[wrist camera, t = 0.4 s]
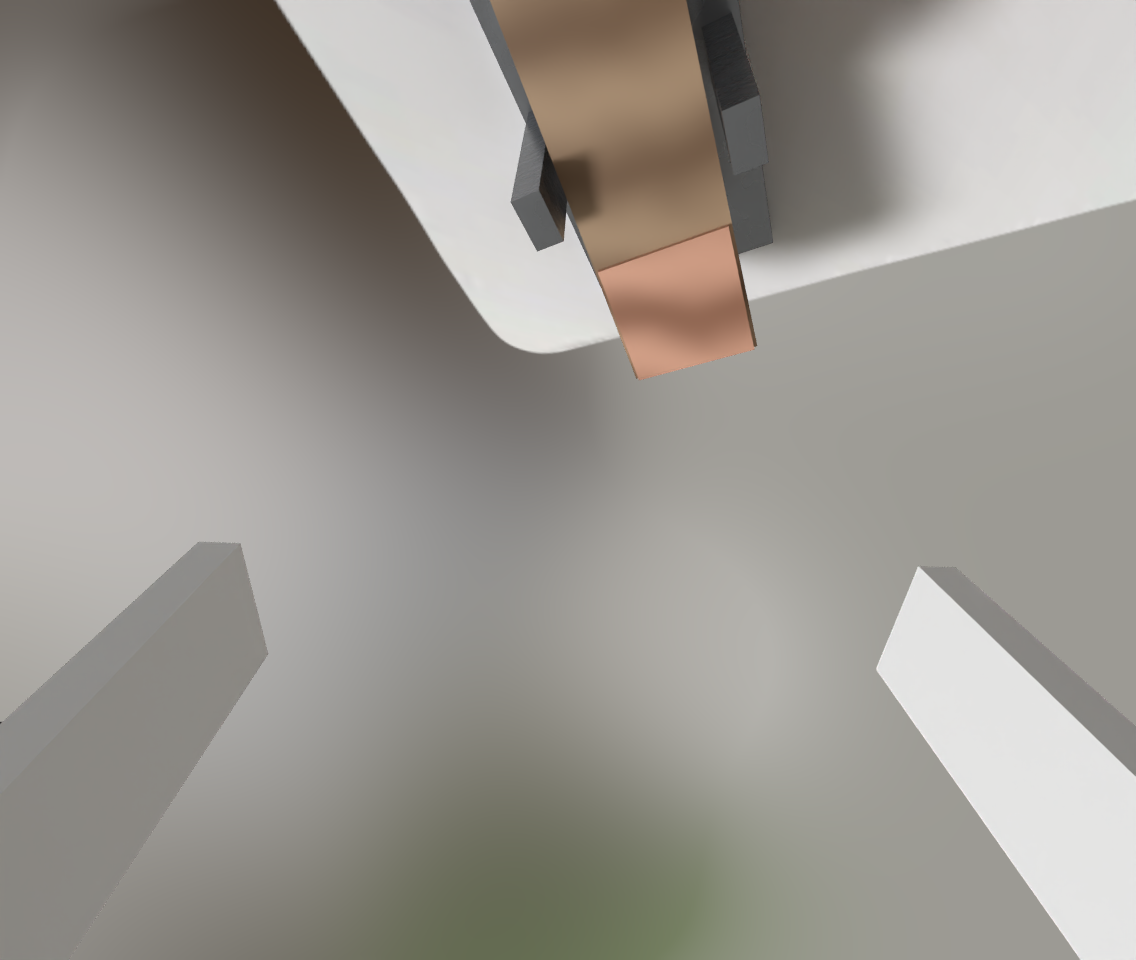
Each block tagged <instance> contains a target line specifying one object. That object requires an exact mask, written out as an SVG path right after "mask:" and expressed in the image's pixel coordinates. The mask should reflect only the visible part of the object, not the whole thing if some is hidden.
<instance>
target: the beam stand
mask: <svg viewBox="0 0 1136 960" xmlns="http://www.w3.org/2000/svg"><path fill="white" fill-rule="evenodd" d="M470 2H471V4H472V7H473V9H474V11H475V13H476V15H477V18H478V20H479V22H480V24H481V26H482V28H483V31H484V33H485V35H486V37H487V39H488V42H489V44H490V46H491V48H492V50H493V53H494V55H495V57H496V59H497V61H498V63H499V66H500V68H501V70H502V72H503V74H504V77H505V79H506V81H507V83H508V85H509V87H510V90H511V92H512V94H513V96H514V98H515V101H516V103H517V105H518V107H519V109H520V111H521V114H522V116H523V118H524V120H525V122H526V127H525V132H524V137H523V142H522V147H521V152H520V157H519V162H518V168H517V173H516V178H515V183H514V188H513V193H512V198H511V203H512V205H513V207H514V209H515V211H516V213H517V215H518V217H519V218H520V220H521V222H522V224H523V226H524V228H525V230H526V231H527V233H528V235H529V237H530V239H531V241H532V243H533V244H534V246H535V248H536V250H537V251H540V250H542V249H545V248H547V247H550V246H553V245H555V244H558V243H560V242H563V241H564V231H565V220H566V212H567V214H568V216H569V218H570V221H571V223H572V225H573V227H574V229H575V232H576V234H577V236H578V238H579V240H580V243H581V245H582V247H583V249H584V251H585V253H586V256H587V258H588V260H589V262H590V264H591V267H592V269H593V271H594V273H595V270H594V268H593V265H592V263H591V260H590V257H589V255H588V252H587V250H586V247H585V244H584V242H583V239H582V237H581V234H580V232H579V229H578V226H577V224H576V221H575V219H574V216H573V214H572V211H571V208H570V206H569V203H568V201H567V198H566V195H565V193H564V190H563V188H562V185H561V183H560V180H559V177H558V175H557V172H556V170H555V167H554V164H553V162H552V159H551V157H550V154H549V152H548V149H547V146H546V144H545V141H544V139H543V136H542V134H541V131H540V128H539V126H538V123H537V121H536V118H535V115H534V113H533V110H532V108H531V105H530V103H529V100H528V97H527V95H526V92H525V90H524V87H523V85H522V82H521V79H520V77H519V74H518V72H517V69H516V66H515V64H514V61H513V59H512V56H511V54H510V51H509V48H508V46H507V43H506V41H505V38H504V36H503V33H502V30H501V28H500V25H499V23H498V20H497V17H496V15H495V12H494V10H493V7H492V5H491V2H490V0H470ZM686 2H687V7H688V11H689V16H690V21H691V26H692V31H693V36H694V41H695V46H696V50H697V55H698V60H699V65H700V70H701V75H702V80H703V85H704V89H705V94H706V99H707V104H708V109H709V114H710V119H711V124H712V128H713V133H714V138H715V143H716V148H717V153H718V158H719V163H720V167H721V172H722V177H723V182H724V187H725V192H726V197H727V202H728V206H729V211H730V216H731V221H732V226H733V231H734V236H735V241H736V245H737V250H738V254H740V253H743V252H746V251H749V250H752V249H755V248H758V247H761V246H764V245H767V244H770V243H773V239H772V232H771V225H770V218H769V211H768V204H767V197H766V190H765V183H764V176H763V169H762V165H763V164H766V163H768V162H769V161H768V154H767V147H766V139H765V132H764V124H763V117H762V109H761V102H760V95H759V92H758V89H757V86H756V83H755V80H754V77H753V74H752V71H751V68H750V65H749V62H748V59H747V56H746V51H745V44H744V37H743V30H742V23H741V16H740V9H739V2H738V0H686ZM595 275H596V273H595ZM596 277H597V275H596ZM597 280H598V278H597ZM598 282H599V281H598ZM599 284H600V283H599Z"/></svg>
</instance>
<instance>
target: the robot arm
mask: <svg viewBox="0 0 1136 960" xmlns="http://www.w3.org/2000/svg"><path fill="white" fill-rule="evenodd" d="M267 655H268V651H267V647H266V643H265V640H264V636H263V631H262V627H261V623H260V619H259V615H258V612H257V607H256V603H255V599H254V596H253V591H252V588H251V584H250V580H249V576H248V572H247V568H246V564H245V560H244V556H243V552H242V548H241V544H240V543H216V542H198V543H197V544H196V545H194V546H193V547H192V548H191V549H190V550H189V551H188V552H187V553H186V554H185V555H184V556H183V557H181V558H180V559H179V560H178V561H177V562H176V563H175V564H174V565H173V566H172V567H171V568H169V569H168V570H167V571H166V572H165V573H164V574H163V575H162V576H161V577H160V578H159V579H157V580H156V581H155V582H154V583H153V584H152V585H151V586H150V587H149V588H148V589H147V590H145V591H144V592H143V593H142V594H141V595H140V596H139V597H138V598H137V599H136V600H135V601H133V602H132V603H131V604H130V605H129V606H128V607H127V608H126V609H125V610H124V611H123V612H122V613H120V614H119V615H118V616H117V617H116V618H115V619H114V620H113V621H112V622H111V623H110V624H108V625H107V626H106V627H105V628H104V629H103V630H102V631H101V632H100V633H99V634H98V635H96V636H95V637H94V638H93V639H92V640H91V641H90V642H89V643H88V644H87V645H86V646H85V647H83V648H82V649H81V650H80V651H79V652H78V653H77V654H76V655H75V656H74V657H73V658H72V659H70V661H68V662H67V663H66V664H65V665H64V666H63V667H62V668H61V669H60V670H58V671H57V672H56V673H55V674H54V675H53V676H52V677H51V678H50V679H49V680H48V681H47V682H45V683H44V684H43V685H42V686H41V687H40V688H39V689H38V690H37V691H36V692H35V693H33V694H32V695H31V696H30V697H29V698H28V699H27V700H26V701H25V702H24V703H22V704H21V705H20V706H19V707H18V708H17V709H16V710H15V711H14V712H13V713H12V714H11V715H9V716H8V717H7V718H6V719H5V720H4V721H3V722H0V960H69V959H70V957H71V955H72V954H73V952H74V951H75V949H76V948H77V946H78V945H79V943H80V942H81V940H82V939H83V937H84V936H85V934H86V933H87V931H88V930H89V928H90V926H91V925H92V923H93V922H94V920H95V919H96V917H97V916H98V914H99V913H100V911H101V910H102V908H103V907H104V905H105V903H106V902H107V900H108V899H109V897H110V896H111V894H112V893H113V891H114V890H115V888H116V887H117V885H118V884H119V882H120V880H121V879H122V877H123V876H124V874H125V873H126V871H127V870H128V868H129V867H130V865H131V864H132V862H133V860H134V859H135V857H136V856H137V854H138V853H139V851H140V850H141V848H142V847H143V845H144V843H145V842H146V841H147V839H148V837H149V836H150V834H151V833H152V831H153V830H154V828H155V827H156V825H157V824H158V822H159V821H160V819H161V818H162V816H163V814H164V813H165V811H166V810H167V808H168V807H169V805H170V804H171V802H172V801H173V799H174V798H175V796H176V795H177V793H178V792H179V790H180V788H181V787H182V785H183V784H184V782H185V781H186V779H187V778H188V776H189V775H190V773H191V772H192V770H193V769H194V767H195V765H196V764H197V762H198V761H199V759H200V758H201V756H202V755H203V753H204V752H205V750H206V749H207V747H208V746H209V744H210V742H211V741H212V739H213V738H214V736H215V735H216V733H217V732H218V730H219V728H220V727H221V725H222V724H223V723H224V721H225V719H226V718H227V716H228V715H229V713H230V712H231V710H232V709H233V707H234V705H235V704H236V703H237V701H238V699H239V698H240V696H241V695H242V693H243V692H244V690H245V689H246V687H247V686H248V684H249V683H250V681H251V680H252V678H253V677H254V675H255V673H256V672H257V670H258V669H259V667H260V666H261V664H262V663H263V661H264V660H265V658H266V657H267ZM876 670H877V671H878V673H879V674H880V676H881V677H882V678H883V680H884V681H885V683H886V684H887V686H888V687H889V688H890V690H891V691H892V693H893V694H894V696H895V697H896V699H897V700H898V701H899V703H900V704H901V705H902V707H903V708H904V710H905V711H906V713H907V714H908V715H909V717H910V718H911V720H912V721H913V723H914V724H915V725H916V727H917V728H918V730H919V731H920V733H921V734H922V735H923V737H924V738H925V740H926V741H927V742H928V744H929V745H930V747H931V748H932V750H933V751H934V752H935V754H936V755H937V756H938V758H939V759H940V761H941V762H942V764H943V765H944V767H945V768H946V769H947V771H948V772H949V774H950V775H951V777H952V778H953V779H954V781H955V782H956V784H957V785H958V786H959V788H960V789H961V791H962V792H963V794H964V795H965V796H966V798H967V799H968V801H969V802H970V803H971V805H972V806H973V808H974V809H975V810H976V812H977V813H978V815H979V816H980V818H981V819H982V820H983V822H984V823H985V825H986V826H987V828H988V829H989V830H990V832H991V833H992V835H993V836H994V837H995V839H996V840H997V842H998V843H999V845H1000V846H1001V847H1002V849H1003V850H1004V852H1005V853H1006V855H1007V856H1008V857H1009V858H1010V860H1011V862H1012V863H1013V864H1014V866H1015V867H1016V869H1017V870H1018V872H1019V873H1020V874H1021V876H1022V877H1023V879H1024V880H1025V881H1026V883H1027V884H1028V886H1029V887H1030V889H1031V890H1032V891H1033V893H1034V894H1035V896H1036V897H1037V899H1038V900H1039V901H1040V903H1041V904H1042V905H1043V907H1044V908H1045V910H1046V911H1047V913H1048V914H1049V915H1050V917H1051V918H1052V920H1053V921H1054V923H1055V924H1056V925H1057V927H1058V928H1059V930H1060V931H1061V933H1062V934H1063V935H1064V937H1065V938H1066V940H1067V941H1068V942H1069V944H1070V945H1071V947H1072V948H1073V950H1074V951H1075V952H1076V954H1077V955H1078V957H1079V958H1080V959H1081V960H1136V726H1135V725H1134V724H1133V723H1132V722H1130V721H1129V720H1128V719H1127V718H1126V717H1125V716H1124V715H1123V714H1121V713H1120V712H1119V711H1118V710H1117V709H1116V708H1114V706H1112V705H1111V704H1110V703H1109V702H1108V701H1107V700H1106V699H1104V698H1103V697H1102V696H1101V695H1100V694H1099V693H1098V692H1096V691H1095V690H1094V689H1093V688H1092V687H1091V686H1090V685H1089V684H1087V683H1086V682H1085V681H1084V680H1083V679H1082V678H1081V677H1079V676H1078V675H1077V674H1076V673H1075V672H1074V671H1073V670H1071V669H1070V668H1069V667H1068V666H1067V665H1066V664H1065V663H1064V662H1062V661H1061V660H1060V659H1059V658H1058V657H1057V656H1056V655H1055V654H1053V653H1052V652H1051V651H1050V650H1049V649H1048V648H1047V647H1045V646H1044V645H1043V644H1042V643H1041V642H1040V641H1039V640H1038V639H1036V638H1035V637H1034V636H1033V635H1032V634H1031V633H1030V632H1028V631H1027V630H1026V629H1025V628H1024V627H1023V626H1022V625H1021V624H1019V623H1018V622H1017V621H1016V620H1015V619H1014V618H1013V617H1011V616H1010V615H1009V614H1008V613H1007V612H1006V611H1005V610H1003V609H1002V608H1001V607H1000V606H999V605H998V604H997V603H995V602H994V601H993V600H992V599H991V598H990V597H989V596H987V595H986V594H985V593H984V592H983V591H982V590H981V589H980V588H978V587H977V586H976V585H975V584H974V583H973V582H971V580H969V579H968V578H967V577H966V576H965V575H964V574H962V572H960V571H959V570H958V569H957V568H955V567H927V566H918V568H917V571H916V573H915V576H914V578H913V581H912V583H911V585H910V588H909V590H908V593H907V595H906V598H905V600H904V602H903V605H902V607H901V610H900V612H899V615H898V617H897V619H896V622H895V624H894V627H893V629H892V631H891V634H890V636H889V639H888V641H887V644H886V646H885V649H884V651H883V653H882V656H881V658H880V661H879V663H878V665H877V668H876Z"/></svg>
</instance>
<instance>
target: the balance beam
mask: <svg viewBox="0 0 1136 960" xmlns="http://www.w3.org/2000/svg"><path fill="white" fill-rule="evenodd" d="M490 2H491V5H492V7H493V10H494V12H495V15H496V17H497V20H498V23H499V25H500V28H501V30H502V33H503V36H504V38H505V41H506V43H507V46H508V48H509V51H510V54H511V56H512V59H513V61H514V64H515V66H516V69H517V72H518V74H519V77H520V79H521V82H522V85H523V87H524V90H525V92H526V95H527V97H528V100H529V103H530V105H531V108H532V110H533V113H534V115H535V118H536V121H537V123H538V126H539V128H540V131H541V134H542V136H543V139H544V141H545V144H546V146H547V149H548V152H549V154H550V157H551V159H552V162H553V164H554V167H555V170H556V172H557V175H558V177H559V180H560V183H561V185H562V188H563V190H564V193H565V195H566V198H567V201H568V203H569V206H570V208H571V211H572V214H573V216H574V219H575V221H576V224H577V226H578V229H579V232H580V234H581V237H582V239H583V242H584V244H585V247H586V250H587V252H588V255H589V257H590V260H591V263H592V265H593V268H594V270H595V273H596V275H597V278H598V281H599V283H600V286H601V288H602V291H603V293H604V296H605V299H606V301H607V304H608V306H609V309H610V312H611V314H612V317H613V319H614V322H615V324H616V327H617V330H618V332H619V335H620V337H621V340H622V342H623V345H624V347H625V350H626V353H627V355H628V358H629V360H630V363H631V365H632V368H633V371H634V373H635V376H636V378H638V379H639V380H642V379H646V378H649V377H653V376H657V375H661V374H664V373H668V372H672V371H675V370H679V369H683V368H687V367H691V366H694V365H698V364H702V363H705V362H709V361H713V360H716V359H721V358H724V357H728V356H732V355H736V354H739V353H743V352H747V351H751V350H754V347H756V346H757V343H756V338H755V333H754V329H753V323H752V319H751V314H750V309H749V304H748V299H747V294H746V289H745V284H744V280H743V275H742V270H741V265H740V260H739V255H738V250H737V245H736V241H735V236H734V231H733V226H732V221H731V216H730V211H729V206H728V202H727V197H726V192H725V187H724V182H723V177H722V172H721V167H720V163H719V158H718V153H717V148H716V143H715V138H714V133H713V128H712V124H711V119H710V114H709V109H708V104H707V99H706V94H705V89H704V85H703V80H702V75H701V70H700V65H699V60H698V55H697V50H696V46H695V41H694V36H693V31H692V26H691V21H690V16H689V11H688V7H687V2H686V0H490Z"/></svg>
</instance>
